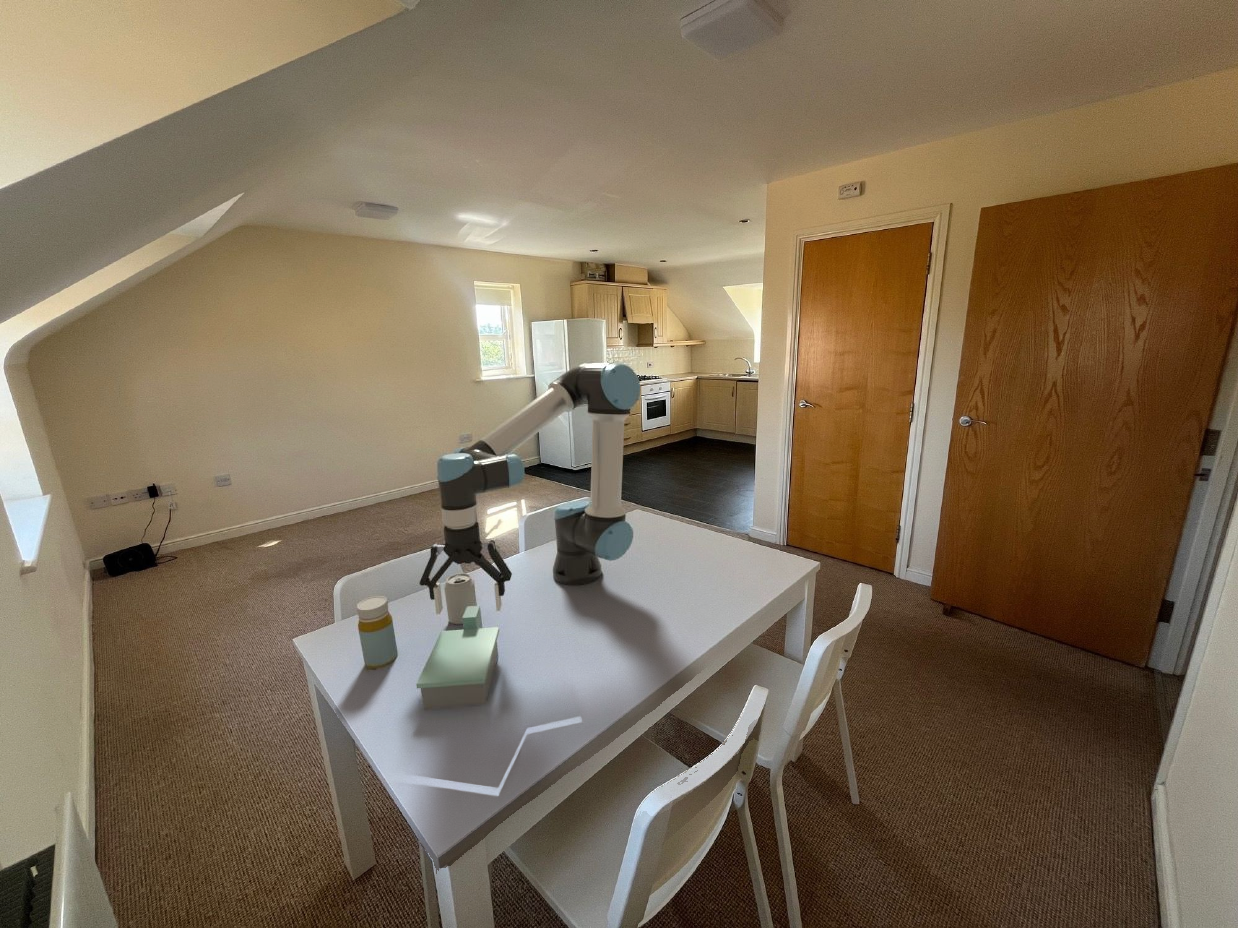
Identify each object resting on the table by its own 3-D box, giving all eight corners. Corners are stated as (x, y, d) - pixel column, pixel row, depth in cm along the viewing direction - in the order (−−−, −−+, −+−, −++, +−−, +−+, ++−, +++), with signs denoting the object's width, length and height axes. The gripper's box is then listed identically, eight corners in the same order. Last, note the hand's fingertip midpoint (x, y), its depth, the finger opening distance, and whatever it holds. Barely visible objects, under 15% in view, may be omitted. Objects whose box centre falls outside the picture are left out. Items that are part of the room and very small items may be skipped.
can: (451, 629, 126) (445, 587, 123) (446, 616, 132) (441, 575, 129) (480, 621, 129) (476, 579, 126) (475, 608, 135) (470, 568, 133)
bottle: (376, 674, 109) (366, 614, 106) (358, 664, 113) (348, 606, 109) (404, 657, 115) (395, 599, 111) (386, 648, 119) (377, 592, 115)
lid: (503, 630, 120) (501, 604, 118) (486, 696, 97) (482, 665, 96) (449, 633, 119) (445, 607, 117) (418, 701, 96) (414, 670, 95)
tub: (498, 657, 114) (496, 634, 112) (485, 707, 98) (482, 681, 97) (445, 661, 113) (442, 638, 112) (424, 712, 98) (420, 686, 96)
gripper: (519, 515, 114) (525, 598, 119) (409, 520, 112) (419, 604, 117) (515, 526, 107) (521, 614, 112) (397, 532, 105) (409, 621, 110)
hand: (469, 609), depth 115 cm, fingers open, 13 cm apart
